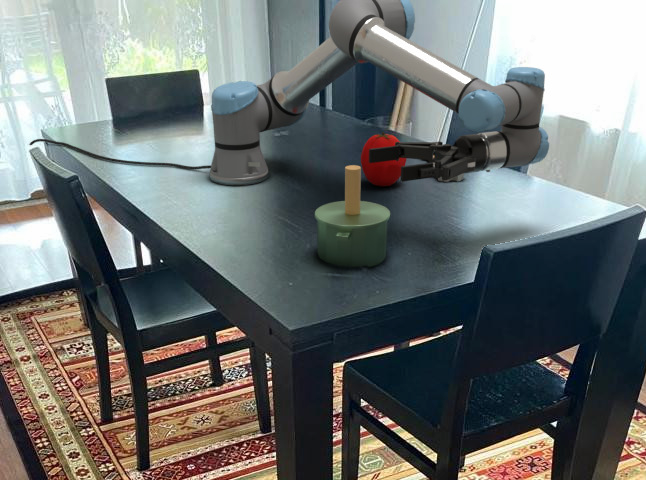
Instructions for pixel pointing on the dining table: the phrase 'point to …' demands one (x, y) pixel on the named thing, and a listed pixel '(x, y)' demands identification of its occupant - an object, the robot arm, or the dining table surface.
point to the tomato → (385, 170)
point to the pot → (352, 245)
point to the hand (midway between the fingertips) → (384, 164)
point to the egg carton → (457, 178)
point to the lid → (352, 206)
